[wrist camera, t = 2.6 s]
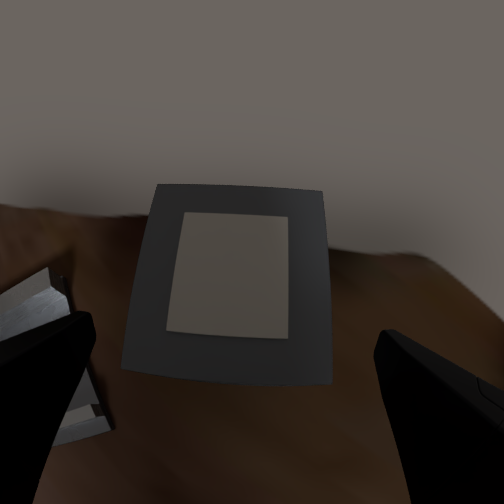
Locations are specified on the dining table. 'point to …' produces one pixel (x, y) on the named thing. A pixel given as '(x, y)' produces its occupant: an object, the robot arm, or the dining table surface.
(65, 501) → the dining table surface
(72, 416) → the din rail
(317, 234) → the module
